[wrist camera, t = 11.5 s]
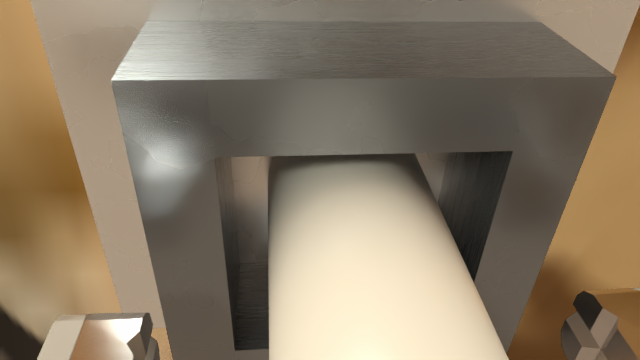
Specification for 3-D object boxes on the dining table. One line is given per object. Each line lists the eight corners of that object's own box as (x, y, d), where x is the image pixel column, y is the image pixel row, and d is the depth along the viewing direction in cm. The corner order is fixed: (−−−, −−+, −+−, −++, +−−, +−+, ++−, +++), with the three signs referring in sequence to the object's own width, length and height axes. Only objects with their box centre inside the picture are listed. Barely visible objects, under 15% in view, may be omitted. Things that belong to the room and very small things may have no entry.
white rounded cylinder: (428, 113, 12) (610, 434, 6) (407, 235, 15) (520, 564, 8) (265, 115, 12) (266, 460, 6) (269, 240, 14) (273, 588, 8)
